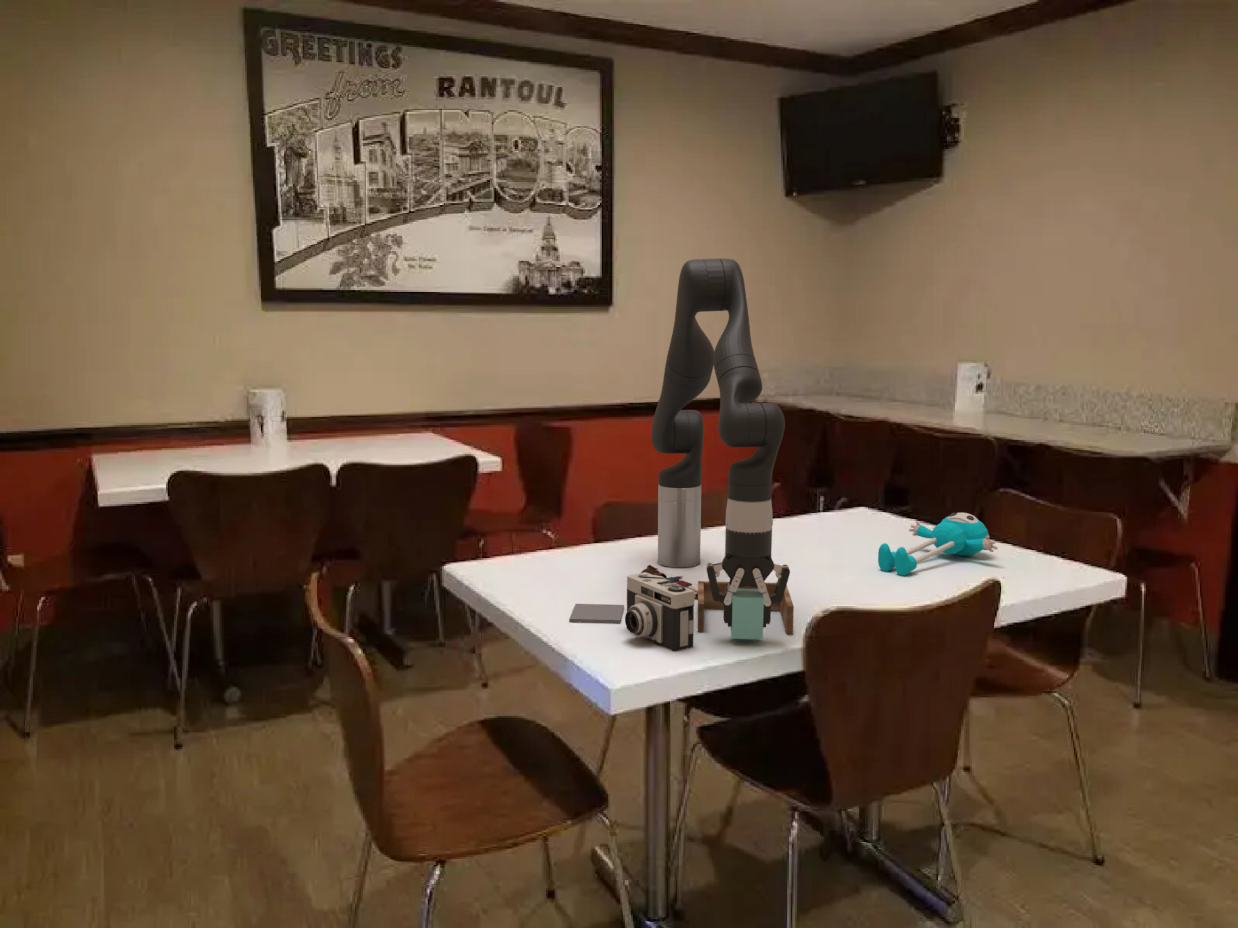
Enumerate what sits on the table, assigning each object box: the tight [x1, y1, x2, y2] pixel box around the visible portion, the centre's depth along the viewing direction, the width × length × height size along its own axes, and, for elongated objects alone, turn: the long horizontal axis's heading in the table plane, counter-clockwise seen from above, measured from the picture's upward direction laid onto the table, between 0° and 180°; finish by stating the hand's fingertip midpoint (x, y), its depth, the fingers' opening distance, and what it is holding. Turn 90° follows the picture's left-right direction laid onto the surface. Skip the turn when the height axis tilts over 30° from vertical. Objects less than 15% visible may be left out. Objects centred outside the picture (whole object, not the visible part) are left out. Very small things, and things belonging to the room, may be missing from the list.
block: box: [730, 589, 764, 640], centre depth 160 cm, size 5×5×7 cm
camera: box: [624, 572, 695, 652], centre depth 161 cm, size 14×8×10 cm, turn 34°
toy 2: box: [877, 512, 999, 577], centre depth 211 cm, size 22×10×30 cm
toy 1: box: [640, 564, 698, 601], centre depth 189 cm, size 14×5×15 cm
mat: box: [568, 603, 625, 624], centre depth 175 cm, size 9×9×1 cm
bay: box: [697, 580, 795, 635], centre depth 171 cm, size 14×16×5 cm
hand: (746, 625), depth 160 cm, fingers closed on block, 5 cm apart
